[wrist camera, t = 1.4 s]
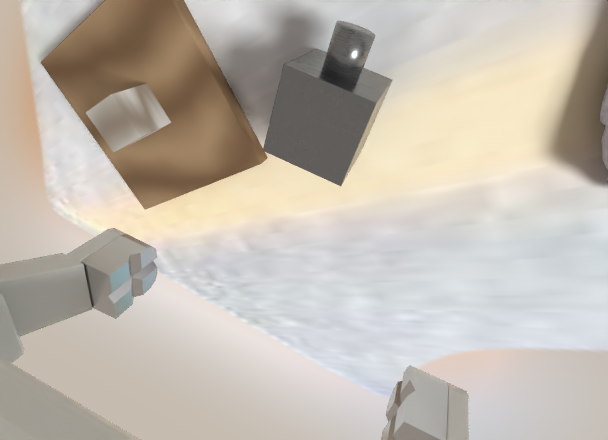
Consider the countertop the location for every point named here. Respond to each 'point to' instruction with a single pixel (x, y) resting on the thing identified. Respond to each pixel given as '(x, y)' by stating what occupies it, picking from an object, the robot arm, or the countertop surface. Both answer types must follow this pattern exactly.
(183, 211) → the countertop surface
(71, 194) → the countertop surface
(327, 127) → the grey block with cylinder
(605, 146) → the stone
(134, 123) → the brown square plate
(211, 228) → the countertop surface
